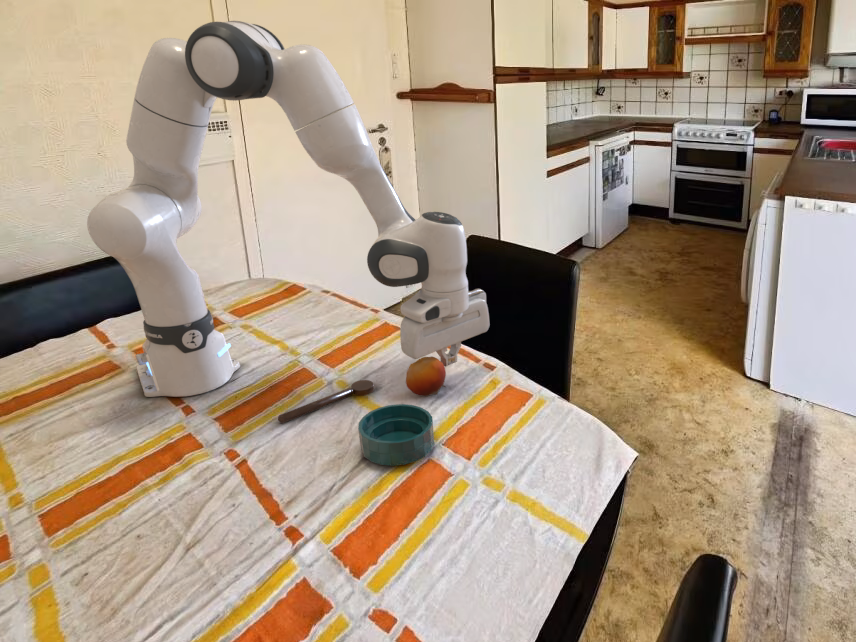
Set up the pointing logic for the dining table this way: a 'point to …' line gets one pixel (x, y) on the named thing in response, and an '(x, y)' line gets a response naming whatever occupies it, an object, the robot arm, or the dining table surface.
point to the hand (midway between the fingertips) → (449, 363)
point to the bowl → (396, 434)
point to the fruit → (426, 376)
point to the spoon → (329, 400)
